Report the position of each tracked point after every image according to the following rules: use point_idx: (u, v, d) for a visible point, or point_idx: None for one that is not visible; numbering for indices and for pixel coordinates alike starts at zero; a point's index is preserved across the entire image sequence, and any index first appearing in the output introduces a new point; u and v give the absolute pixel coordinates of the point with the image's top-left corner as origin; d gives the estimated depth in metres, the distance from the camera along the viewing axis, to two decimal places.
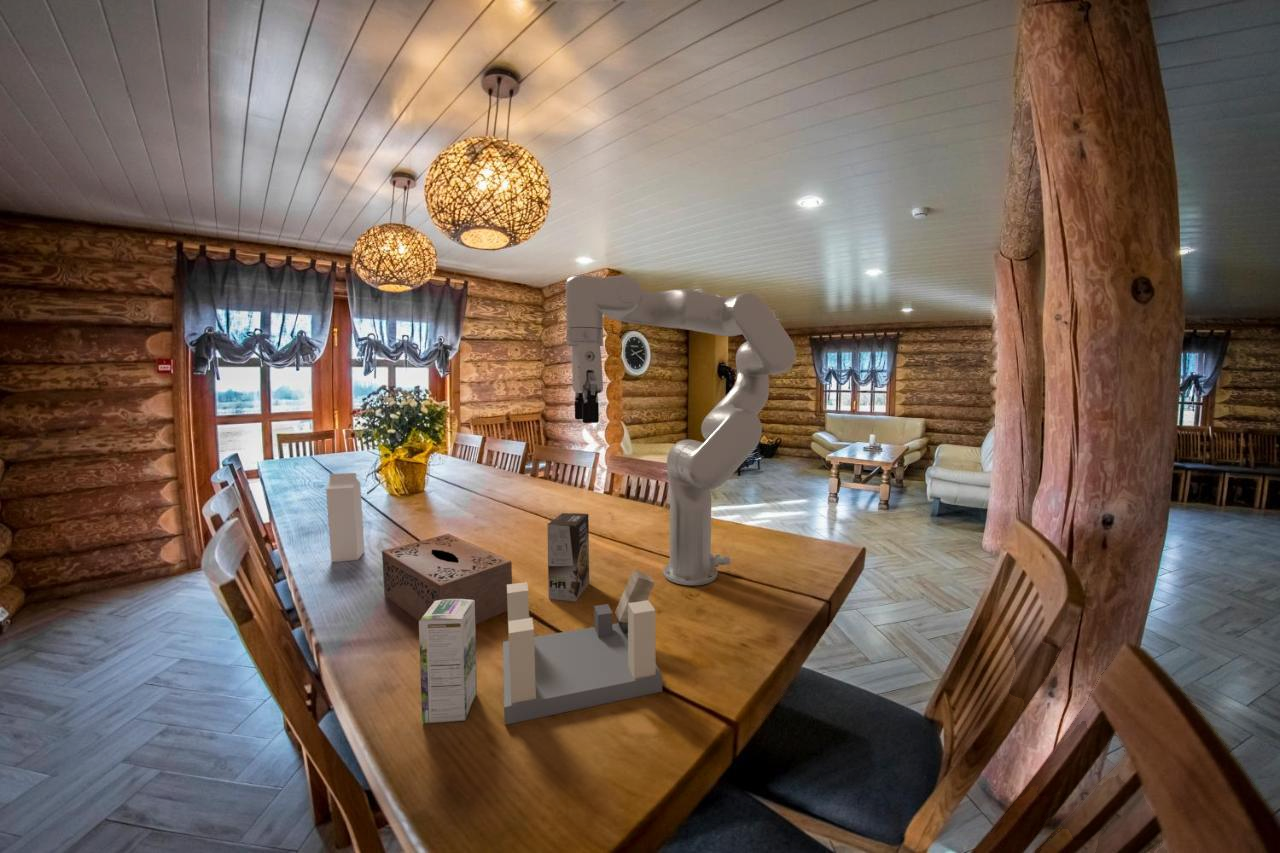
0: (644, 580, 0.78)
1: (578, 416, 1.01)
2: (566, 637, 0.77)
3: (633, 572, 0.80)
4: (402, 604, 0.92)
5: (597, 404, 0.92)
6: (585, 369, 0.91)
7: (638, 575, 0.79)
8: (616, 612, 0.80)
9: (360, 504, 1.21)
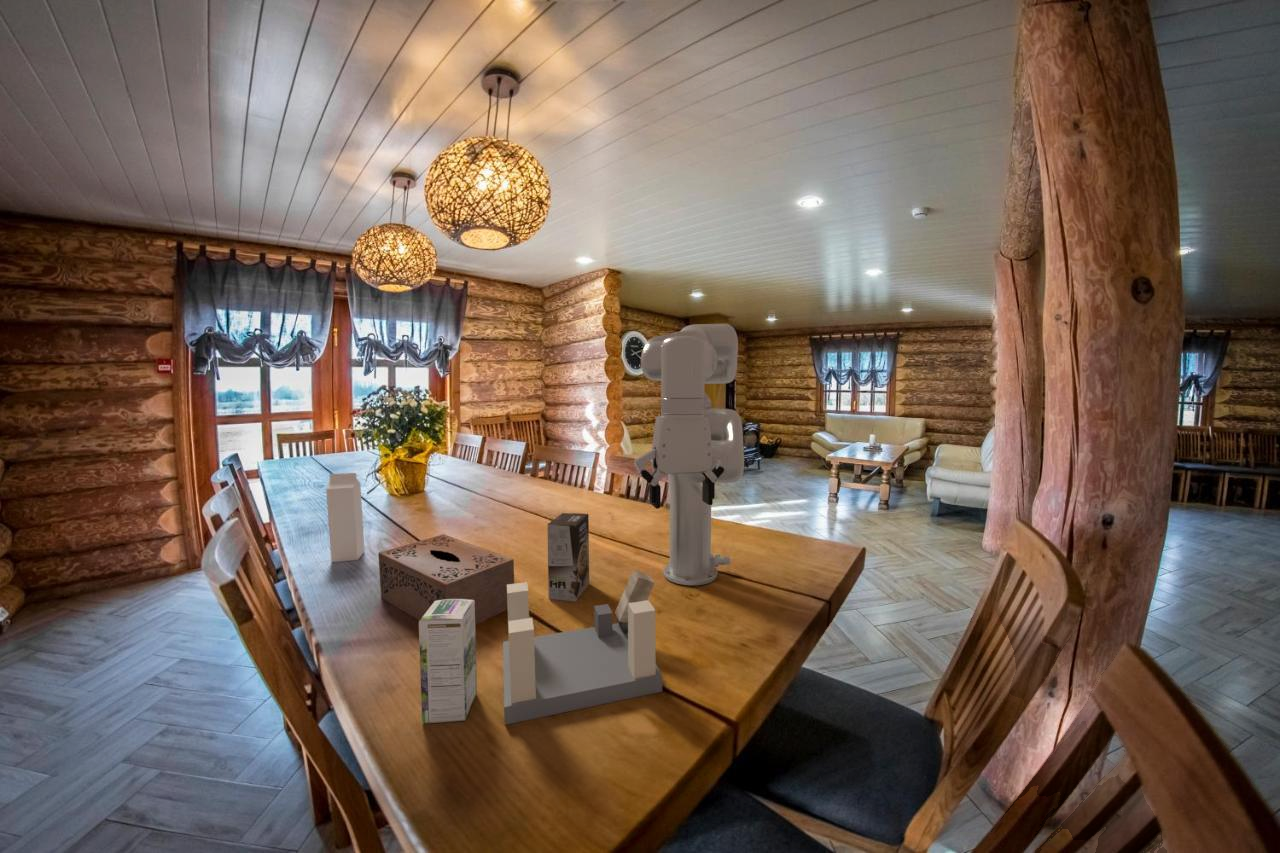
0: (644, 580, 0.78)
1: None
2: (566, 637, 0.77)
3: (633, 572, 0.80)
4: (402, 605, 0.91)
5: None
6: None
7: (638, 575, 0.79)
8: (616, 612, 0.80)
9: (360, 504, 1.21)
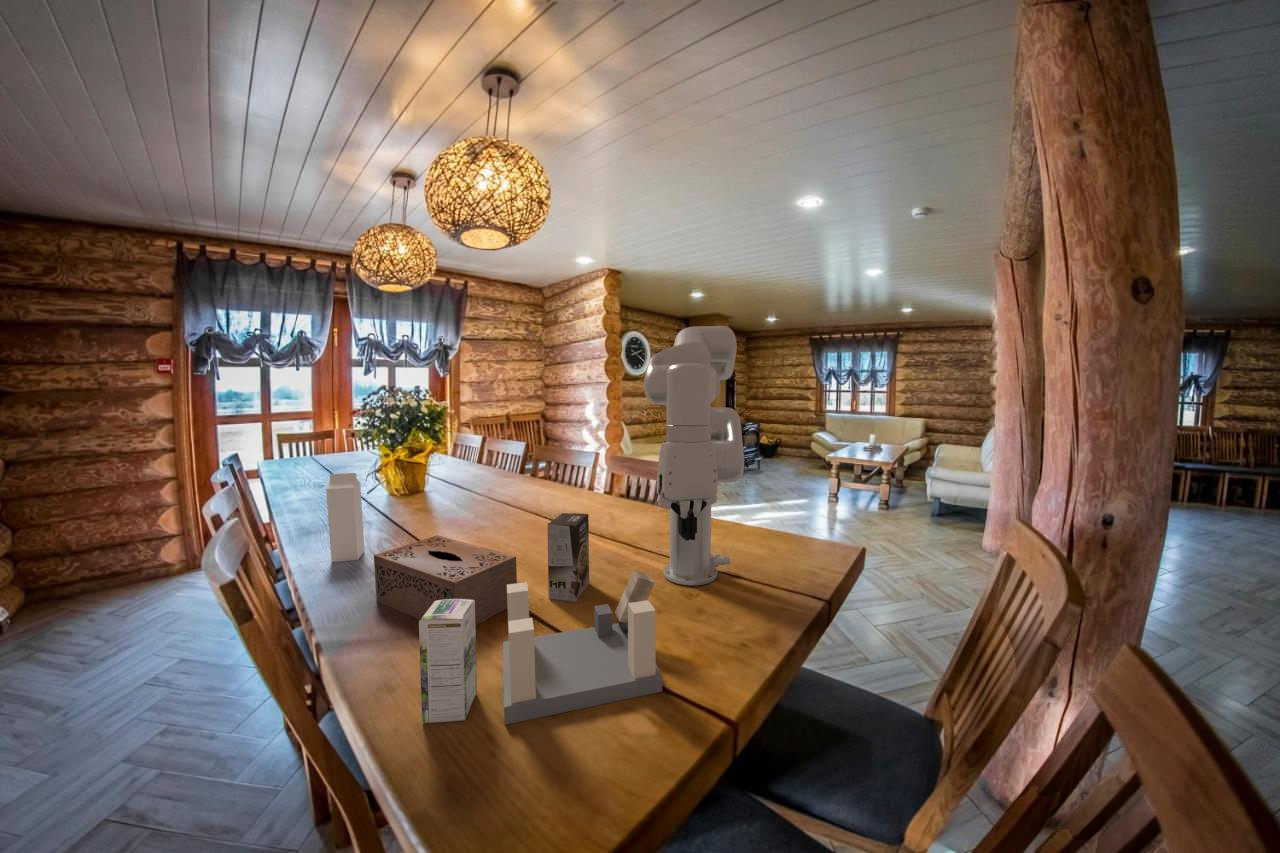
0: (644, 580, 0.78)
1: None
2: (566, 637, 0.77)
3: (633, 572, 0.80)
4: (402, 607, 0.91)
5: None
6: None
7: (638, 575, 0.79)
8: (616, 612, 0.80)
9: (360, 504, 1.21)
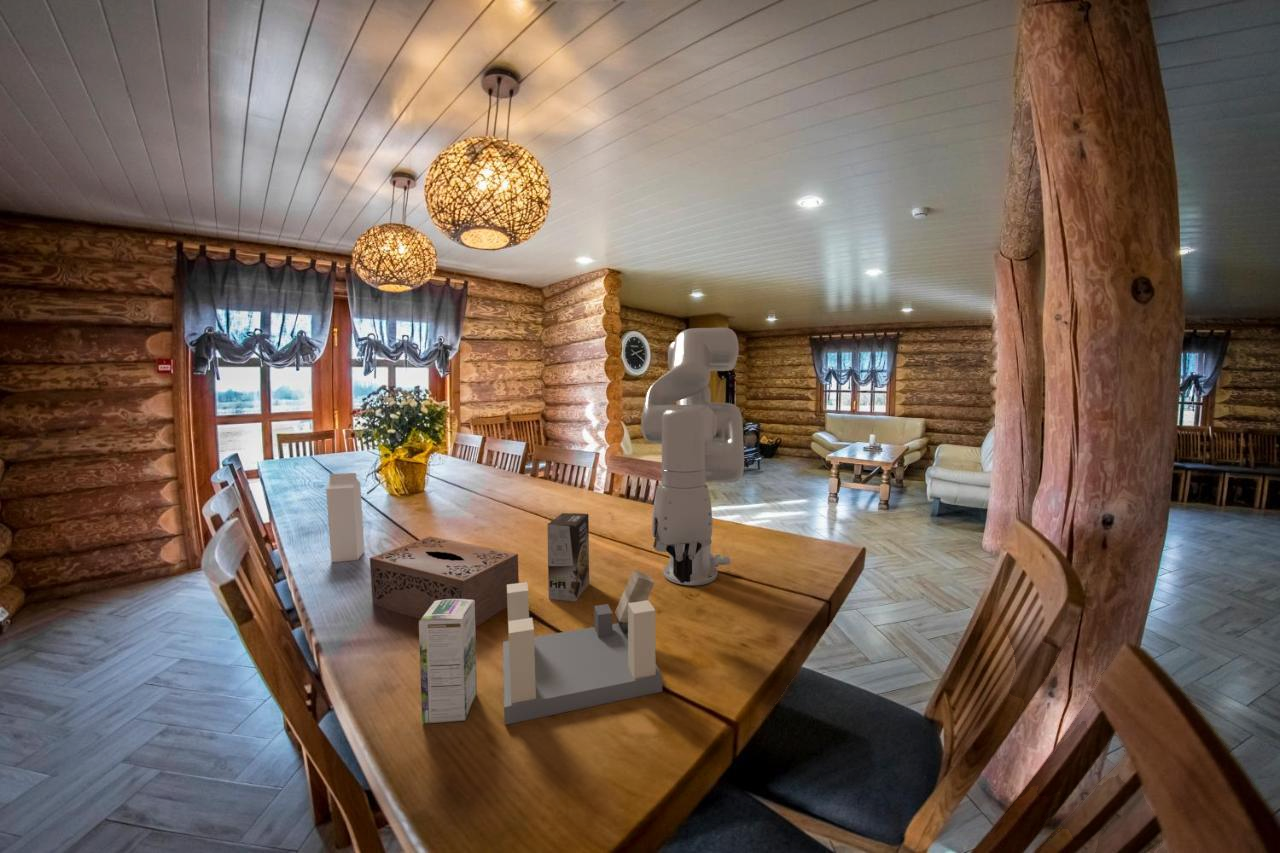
0: (644, 580, 0.78)
1: None
2: (566, 637, 0.77)
3: (633, 572, 0.80)
4: (402, 609, 0.90)
5: None
6: None
7: (638, 575, 0.79)
8: (616, 612, 0.80)
9: (360, 504, 1.21)
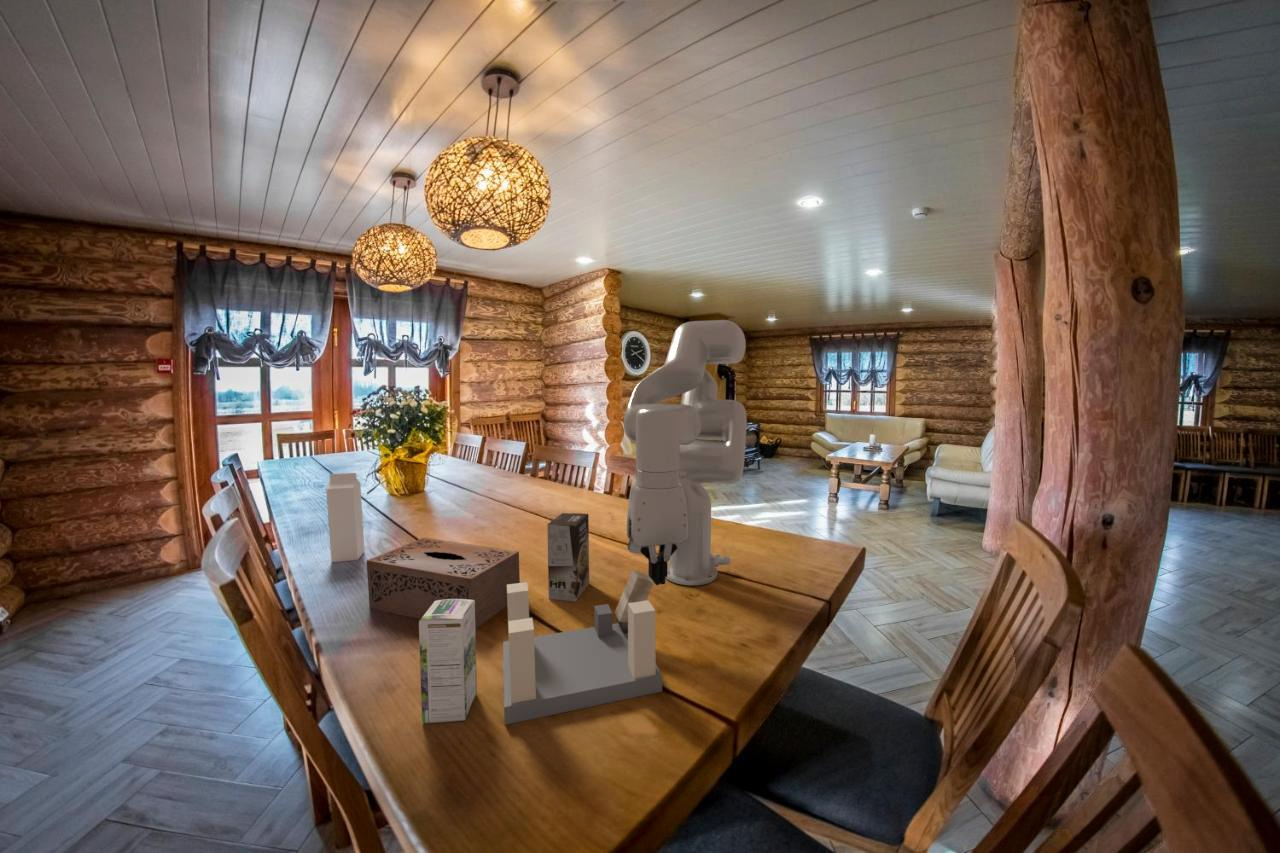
0: (643, 580, 0.78)
1: None
2: (566, 637, 0.77)
3: (632, 572, 0.80)
4: (403, 610, 0.89)
5: None
6: None
7: (637, 575, 0.79)
8: (616, 612, 0.80)
9: (360, 504, 1.21)
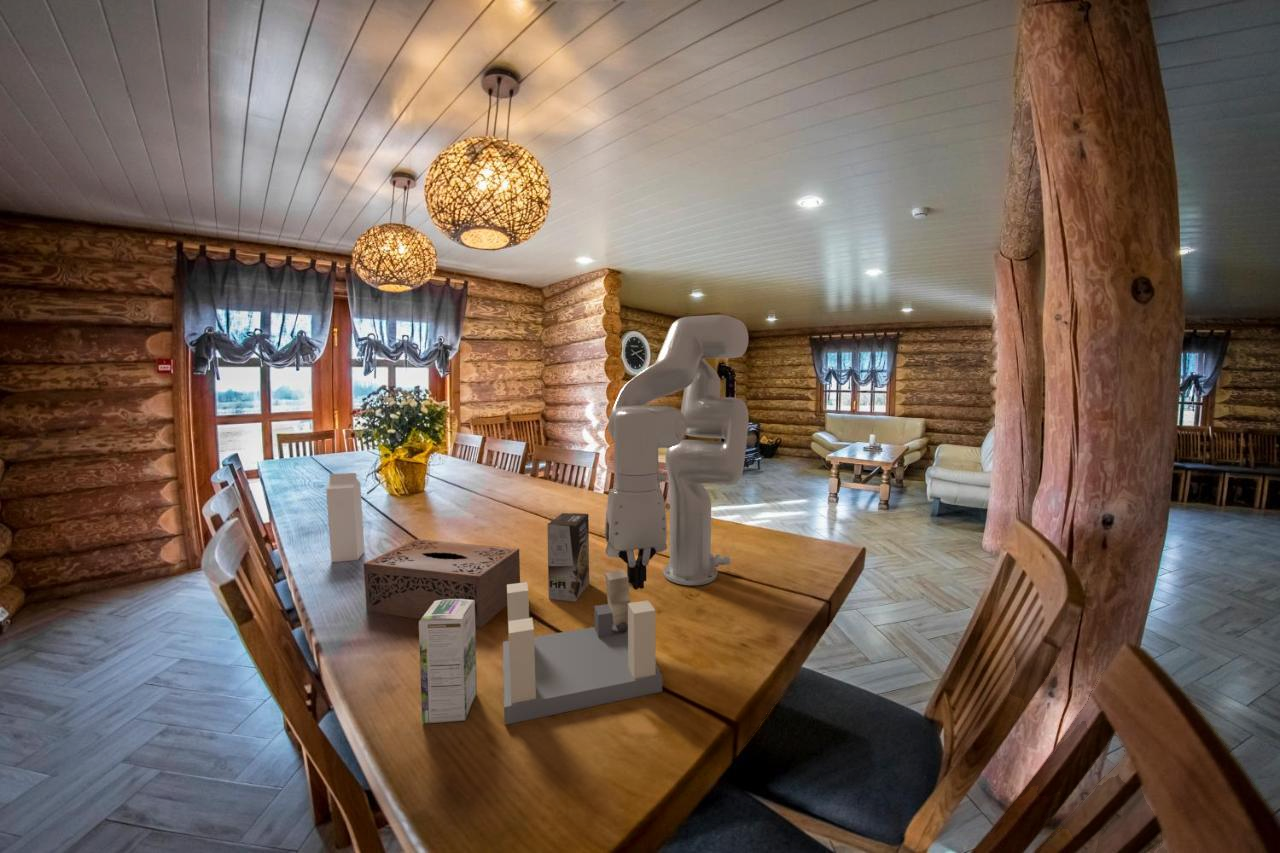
0: (617, 580, 0.77)
1: None
2: (566, 637, 0.77)
3: (606, 575, 0.79)
4: (405, 611, 0.89)
5: None
6: None
7: (610, 577, 0.77)
8: None
9: (360, 504, 1.21)
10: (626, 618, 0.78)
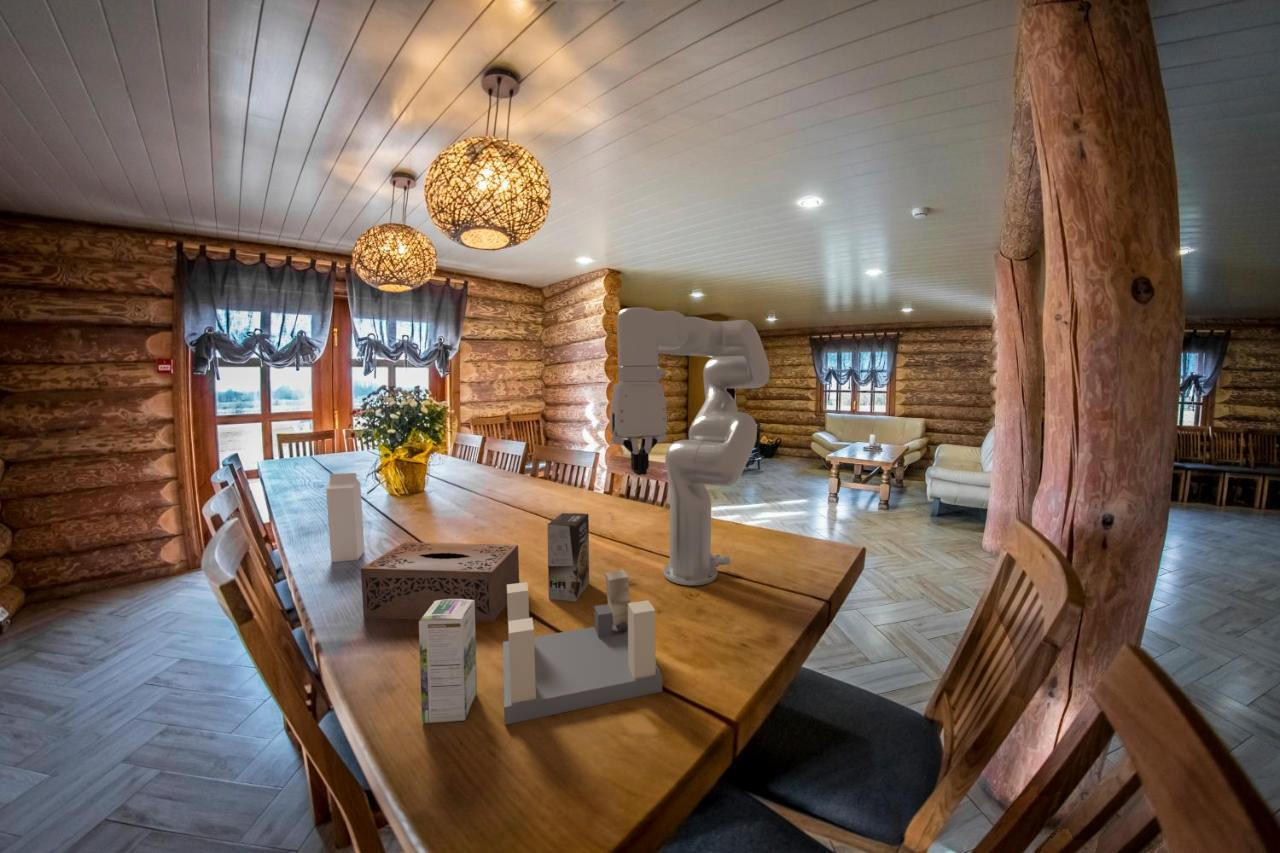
0: (617, 580, 0.77)
1: None
2: (566, 637, 0.77)
3: (606, 575, 0.79)
4: (408, 614, 0.88)
5: None
6: None
7: (610, 577, 0.77)
8: None
9: (360, 504, 1.21)
10: (626, 618, 0.78)
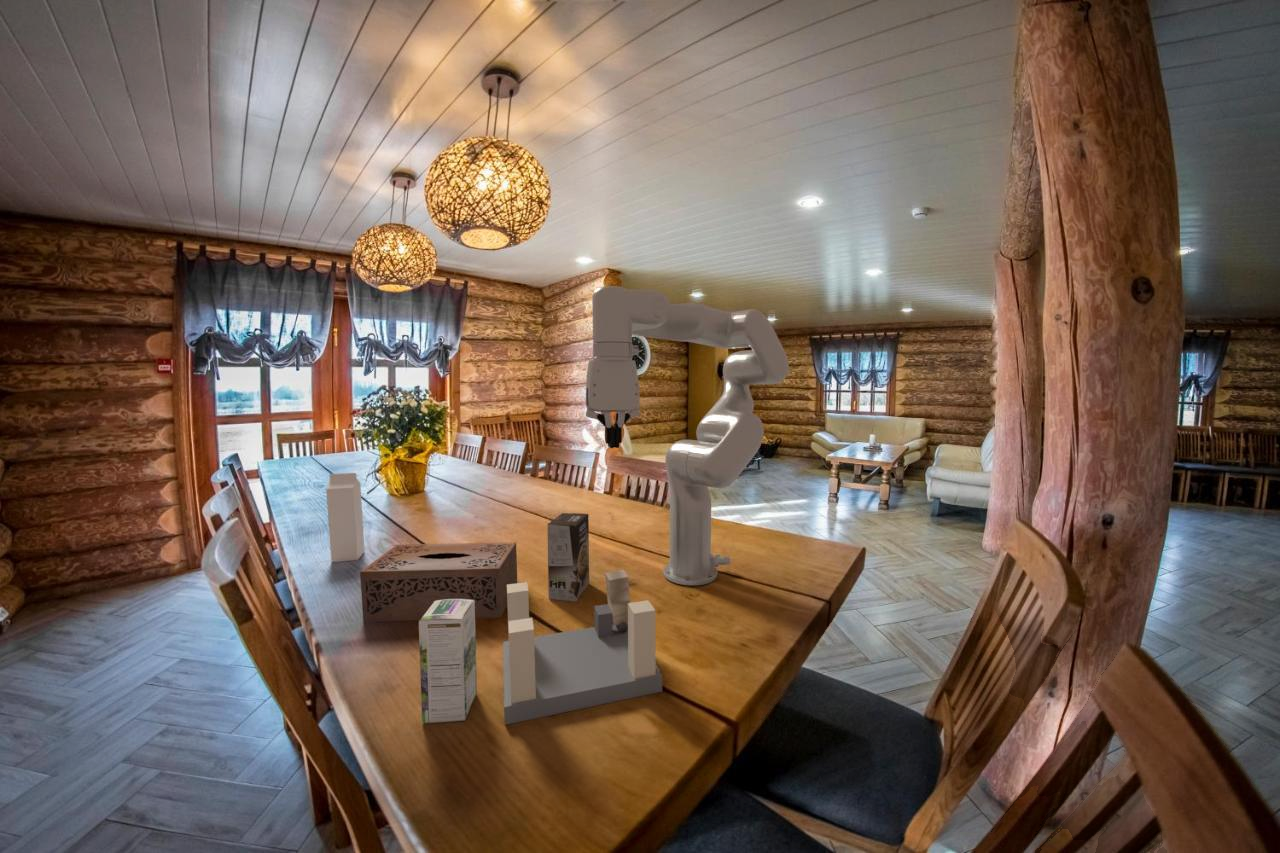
0: (617, 580, 0.77)
1: None
2: (566, 637, 0.77)
3: (606, 575, 0.79)
4: (412, 615, 0.88)
5: None
6: None
7: (610, 577, 0.77)
8: None
9: (360, 504, 1.21)
10: (626, 618, 0.78)
